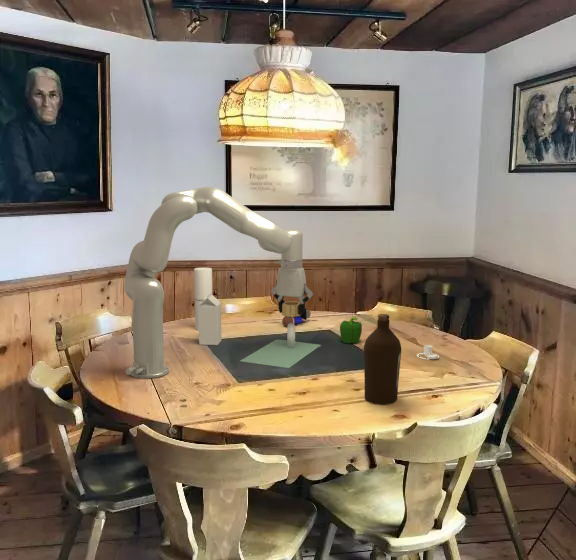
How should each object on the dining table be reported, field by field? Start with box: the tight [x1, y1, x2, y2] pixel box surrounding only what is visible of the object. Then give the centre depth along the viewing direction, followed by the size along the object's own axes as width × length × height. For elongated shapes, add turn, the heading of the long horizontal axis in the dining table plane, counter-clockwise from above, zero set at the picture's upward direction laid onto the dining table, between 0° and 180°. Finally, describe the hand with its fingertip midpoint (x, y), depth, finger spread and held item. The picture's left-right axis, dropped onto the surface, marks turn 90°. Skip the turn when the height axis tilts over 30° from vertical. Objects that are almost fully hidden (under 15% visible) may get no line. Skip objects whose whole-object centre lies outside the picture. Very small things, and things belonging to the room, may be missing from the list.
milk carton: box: [198, 291, 222, 346], centre depth 241 cm, size 7×7×19 cm
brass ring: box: [281, 300, 300, 317], centre depth 230 cm, size 7×7×4 cm
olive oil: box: [363, 313, 402, 405], centre depth 183 cm, size 11×11×25 cm
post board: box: [240, 323, 322, 369], centre depth 225 cm, size 30×18×10 cm, turn 157°
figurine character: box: [281, 307, 311, 328], centre depth 271 cm, size 7×8×15 cm
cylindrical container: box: [193, 267, 213, 332], centre depth 261 cm, size 7×7×25 cm
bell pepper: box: [339, 316, 363, 344], centre depth 244 cm, size 8×8×10 cm
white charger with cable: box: [416, 344, 440, 360], centre depth 227 cm, size 9×8×4 cm
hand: (291, 312), depth 230 cm, fingers closed on brass ring, 7 cm apart
